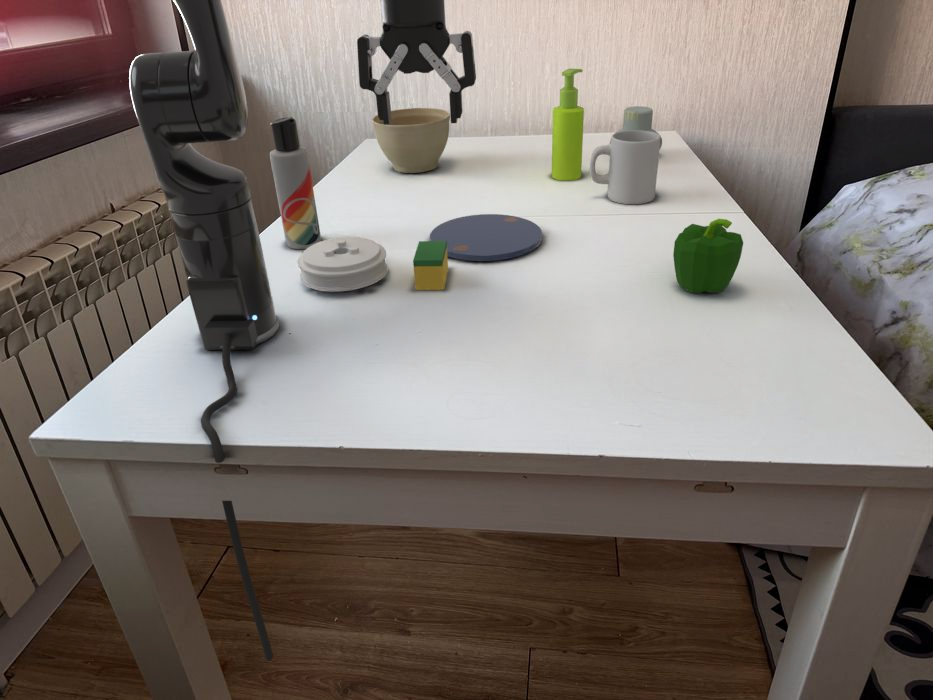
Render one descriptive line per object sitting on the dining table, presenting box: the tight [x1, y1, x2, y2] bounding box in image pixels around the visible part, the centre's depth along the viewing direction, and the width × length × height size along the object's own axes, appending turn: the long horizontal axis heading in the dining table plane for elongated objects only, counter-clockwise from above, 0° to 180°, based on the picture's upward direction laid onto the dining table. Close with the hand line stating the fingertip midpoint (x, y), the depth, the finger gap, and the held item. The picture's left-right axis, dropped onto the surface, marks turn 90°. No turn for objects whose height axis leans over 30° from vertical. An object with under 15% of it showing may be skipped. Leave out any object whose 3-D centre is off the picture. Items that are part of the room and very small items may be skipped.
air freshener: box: [609, 105, 663, 151], centre depth 147 cm, size 11×8×10 cm
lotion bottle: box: [269, 116, 322, 250], centre depth 109 cm, size 6×6×20 cm
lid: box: [297, 236, 389, 293], centre depth 100 cm, size 13×13×5 cm
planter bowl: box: [371, 107, 451, 174], centre depth 147 cm, size 16×16×11 cm
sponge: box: [412, 240, 449, 291], centre depth 99 cm, size 7×4×4 cm, turn 176°
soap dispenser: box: [551, 68, 585, 182], centre depth 135 cm, size 6×7×20 cm
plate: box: [429, 213, 543, 262], centre depth 112 cm, size 18×18×1 cm
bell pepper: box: [672, 218, 744, 294], centre depth 92 cm, size 8×8×10 cm
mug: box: [589, 130, 661, 205], centre depth 125 cm, size 12×8×11 cm
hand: (421, 122), depth 89 cm, fingers open, 8 cm apart
